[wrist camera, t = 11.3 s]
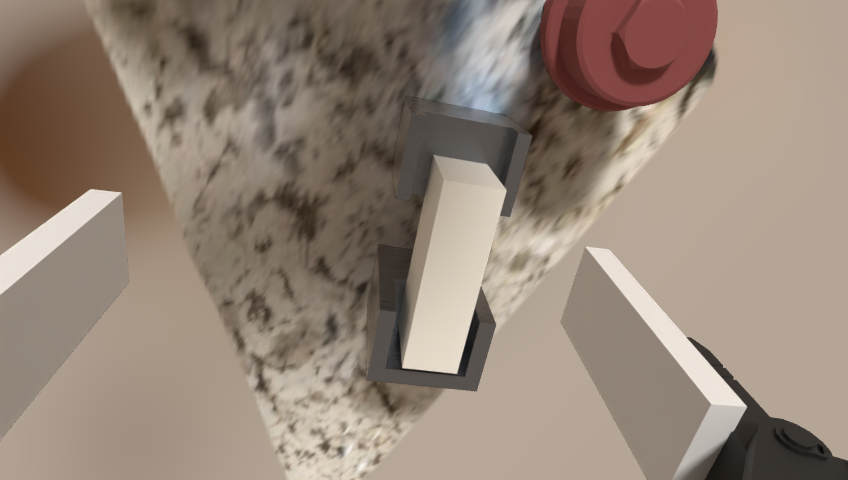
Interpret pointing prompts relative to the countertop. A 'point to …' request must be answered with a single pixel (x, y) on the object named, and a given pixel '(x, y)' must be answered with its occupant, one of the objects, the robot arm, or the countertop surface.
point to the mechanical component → (625, 48)
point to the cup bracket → (385, 330)
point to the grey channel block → (456, 145)
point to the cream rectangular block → (448, 262)
